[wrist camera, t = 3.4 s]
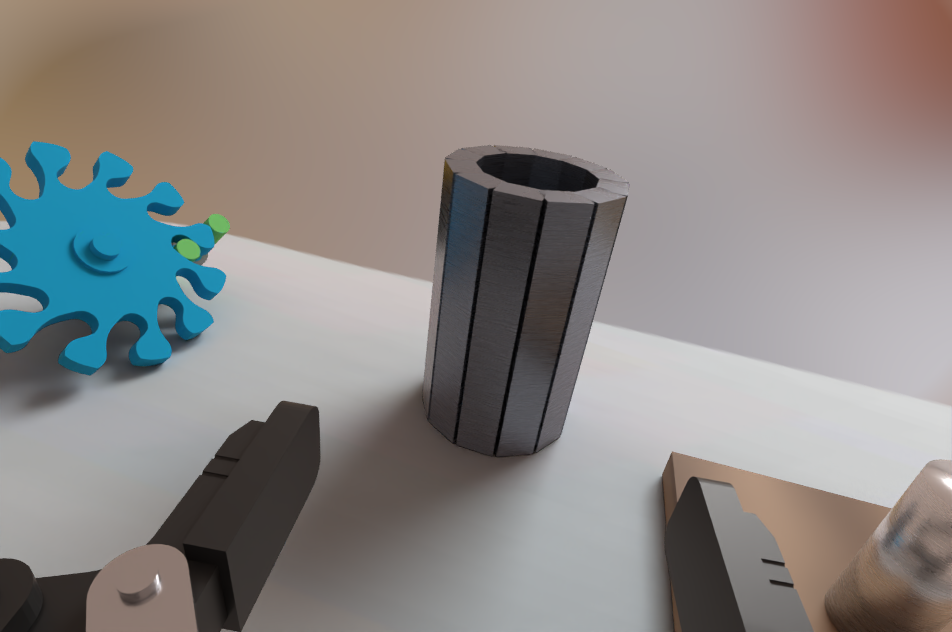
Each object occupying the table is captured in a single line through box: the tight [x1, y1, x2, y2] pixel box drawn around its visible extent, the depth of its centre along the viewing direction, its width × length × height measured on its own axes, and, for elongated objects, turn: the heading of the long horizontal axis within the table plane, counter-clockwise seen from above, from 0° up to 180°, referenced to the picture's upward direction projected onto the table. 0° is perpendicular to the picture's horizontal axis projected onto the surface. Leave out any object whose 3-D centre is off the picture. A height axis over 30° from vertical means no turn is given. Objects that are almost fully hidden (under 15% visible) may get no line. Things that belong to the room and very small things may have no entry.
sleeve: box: [422, 145, 630, 457], centre depth 20 cm, size 6×6×10 cm
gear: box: [0, 142, 230, 375], centre depth 23 cm, size 11×6×10 cm
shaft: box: [824, 460, 952, 632], centre depth 14 cm, size 2×2×5 cm
